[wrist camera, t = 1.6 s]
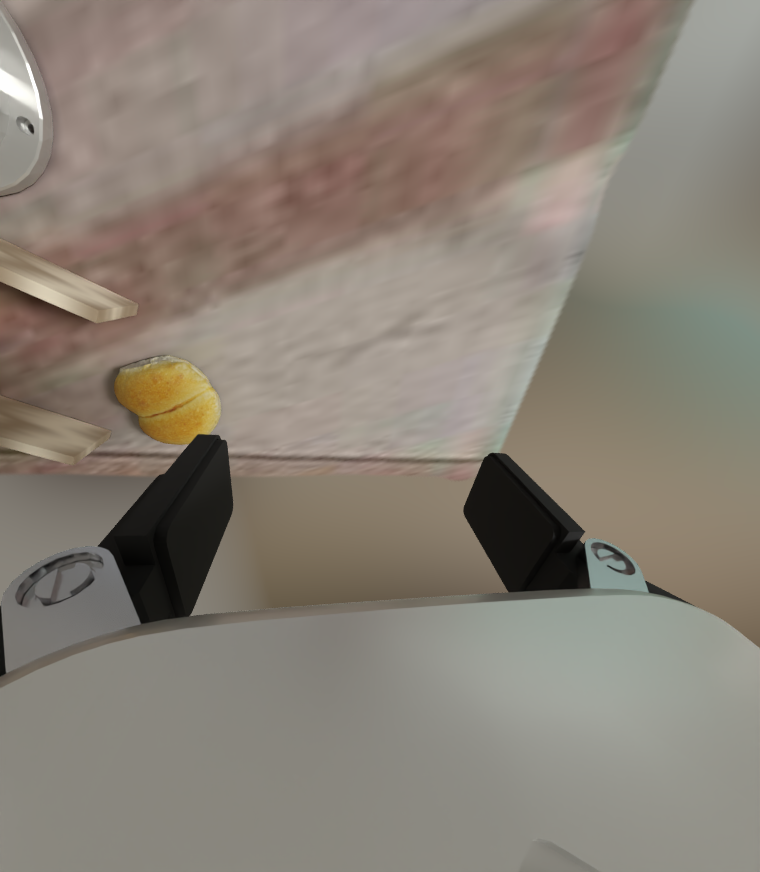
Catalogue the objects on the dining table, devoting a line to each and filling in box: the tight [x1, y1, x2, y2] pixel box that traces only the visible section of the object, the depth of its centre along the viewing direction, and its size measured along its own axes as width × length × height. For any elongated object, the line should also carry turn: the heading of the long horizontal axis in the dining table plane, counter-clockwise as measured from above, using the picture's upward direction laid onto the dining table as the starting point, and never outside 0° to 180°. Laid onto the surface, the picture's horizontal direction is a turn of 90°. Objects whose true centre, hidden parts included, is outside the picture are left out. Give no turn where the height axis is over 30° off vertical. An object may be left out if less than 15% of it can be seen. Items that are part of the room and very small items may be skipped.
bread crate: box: [0, 238, 139, 465], centre depth 22 cm, size 12×15×5 cm
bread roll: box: [114, 355, 221, 445], centre depth 27 cm, size 8×9×4 cm
